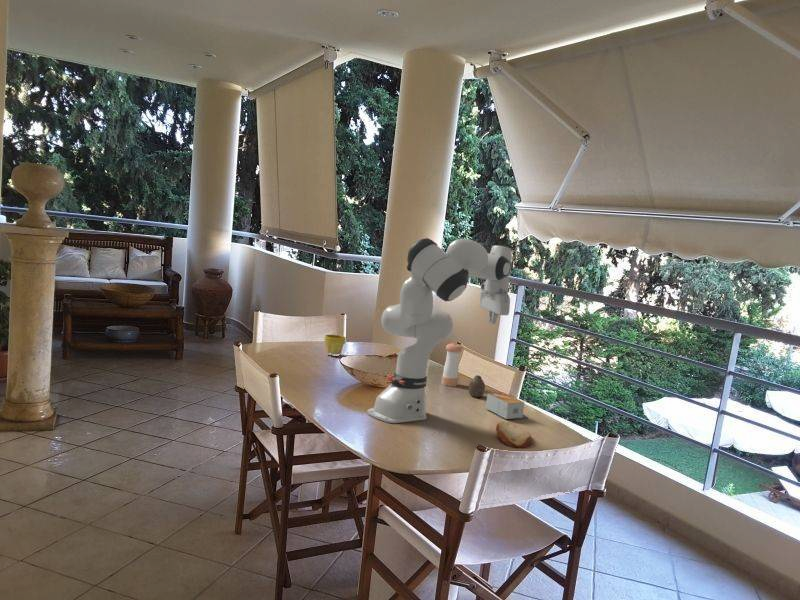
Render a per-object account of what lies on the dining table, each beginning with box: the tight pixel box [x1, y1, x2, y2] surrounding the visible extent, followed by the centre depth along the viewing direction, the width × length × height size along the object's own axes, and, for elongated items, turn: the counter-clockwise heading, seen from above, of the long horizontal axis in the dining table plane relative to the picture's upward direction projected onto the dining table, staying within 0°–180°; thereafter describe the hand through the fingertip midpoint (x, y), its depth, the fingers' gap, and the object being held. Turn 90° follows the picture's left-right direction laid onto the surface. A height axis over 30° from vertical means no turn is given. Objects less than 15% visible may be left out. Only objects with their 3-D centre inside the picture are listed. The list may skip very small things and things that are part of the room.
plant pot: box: [324, 333, 347, 355], centre depth 297 cm, size 10×10×10 cm
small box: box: [485, 392, 525, 420], centre depth 228 cm, size 8×6×13 cm
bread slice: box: [495, 420, 533, 450], centre depth 203 cm, size 18×18×4 cm
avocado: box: [468, 375, 486, 398], centre depth 250 cm, size 7×7×9 cm
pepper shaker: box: [441, 341, 463, 387], centre depth 264 cm, size 7×7×19 cm
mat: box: [496, 413, 529, 420], centre depth 231 cm, size 14×11×1 cm
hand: (492, 323), depth 229 cm, fingers closed
